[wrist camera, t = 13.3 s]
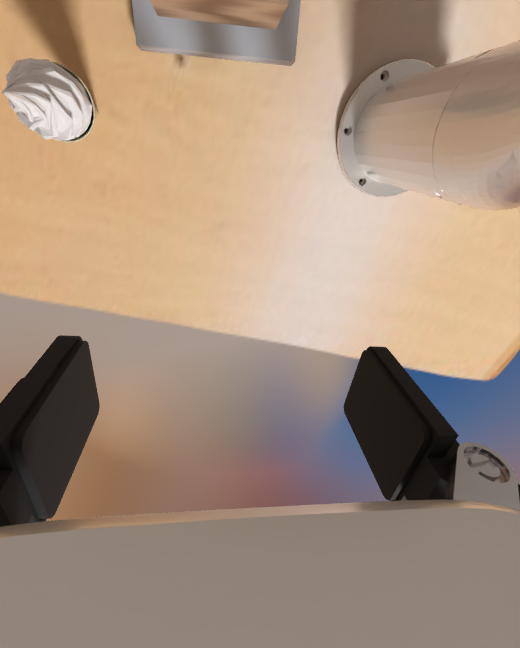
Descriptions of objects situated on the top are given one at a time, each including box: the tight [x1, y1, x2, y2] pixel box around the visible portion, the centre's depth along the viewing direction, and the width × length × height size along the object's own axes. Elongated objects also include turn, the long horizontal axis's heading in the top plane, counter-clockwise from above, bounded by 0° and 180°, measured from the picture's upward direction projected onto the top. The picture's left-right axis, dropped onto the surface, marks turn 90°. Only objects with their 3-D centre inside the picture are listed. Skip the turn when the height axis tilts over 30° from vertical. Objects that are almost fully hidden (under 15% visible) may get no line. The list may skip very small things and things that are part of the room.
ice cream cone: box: [2, 58, 98, 142], centre depth 24 cm, size 5×5×15 cm
